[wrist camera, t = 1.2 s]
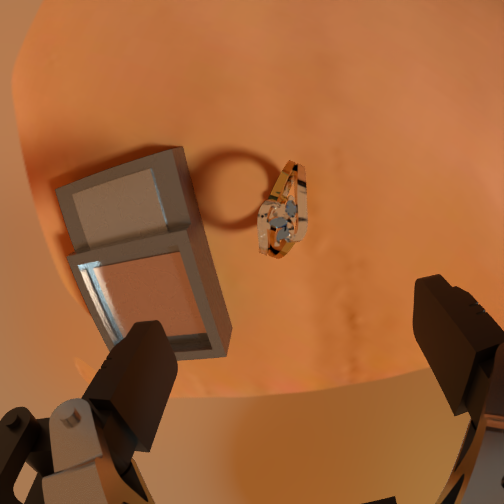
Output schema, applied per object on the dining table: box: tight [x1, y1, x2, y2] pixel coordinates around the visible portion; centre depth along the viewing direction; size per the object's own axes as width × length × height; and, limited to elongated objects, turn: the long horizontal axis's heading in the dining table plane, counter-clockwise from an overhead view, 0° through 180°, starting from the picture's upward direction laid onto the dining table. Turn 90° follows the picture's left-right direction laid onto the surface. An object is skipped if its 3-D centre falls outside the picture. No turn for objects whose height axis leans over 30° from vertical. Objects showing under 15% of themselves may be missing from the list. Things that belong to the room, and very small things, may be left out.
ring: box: [257, 160, 308, 259], centre depth 22 cm, size 7×3×8 cm, turn 159°
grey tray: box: [55, 147, 232, 361], centre depth 27 cm, size 18×12×4 cm, turn 12°
